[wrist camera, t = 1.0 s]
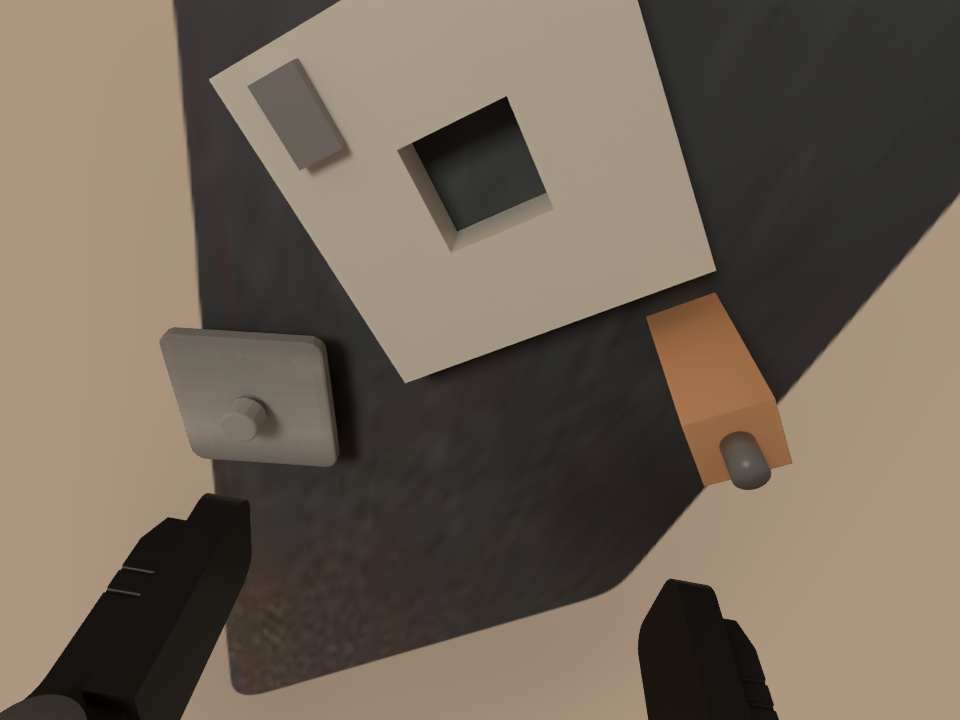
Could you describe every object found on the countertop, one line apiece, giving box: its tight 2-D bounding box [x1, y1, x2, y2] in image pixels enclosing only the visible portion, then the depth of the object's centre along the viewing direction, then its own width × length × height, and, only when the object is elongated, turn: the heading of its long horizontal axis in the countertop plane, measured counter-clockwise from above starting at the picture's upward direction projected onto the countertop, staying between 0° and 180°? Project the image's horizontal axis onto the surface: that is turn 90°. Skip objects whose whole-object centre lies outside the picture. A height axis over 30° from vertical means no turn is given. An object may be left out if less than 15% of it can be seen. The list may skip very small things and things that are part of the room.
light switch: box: [160, 327, 340, 467], centre depth 38 cm, size 10×10×5 cm
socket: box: [209, 0, 716, 383], centre depth 29 cm, size 18×18×4 cm
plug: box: [646, 293, 792, 490], centre depth 30 cm, size 4×4×12 cm
